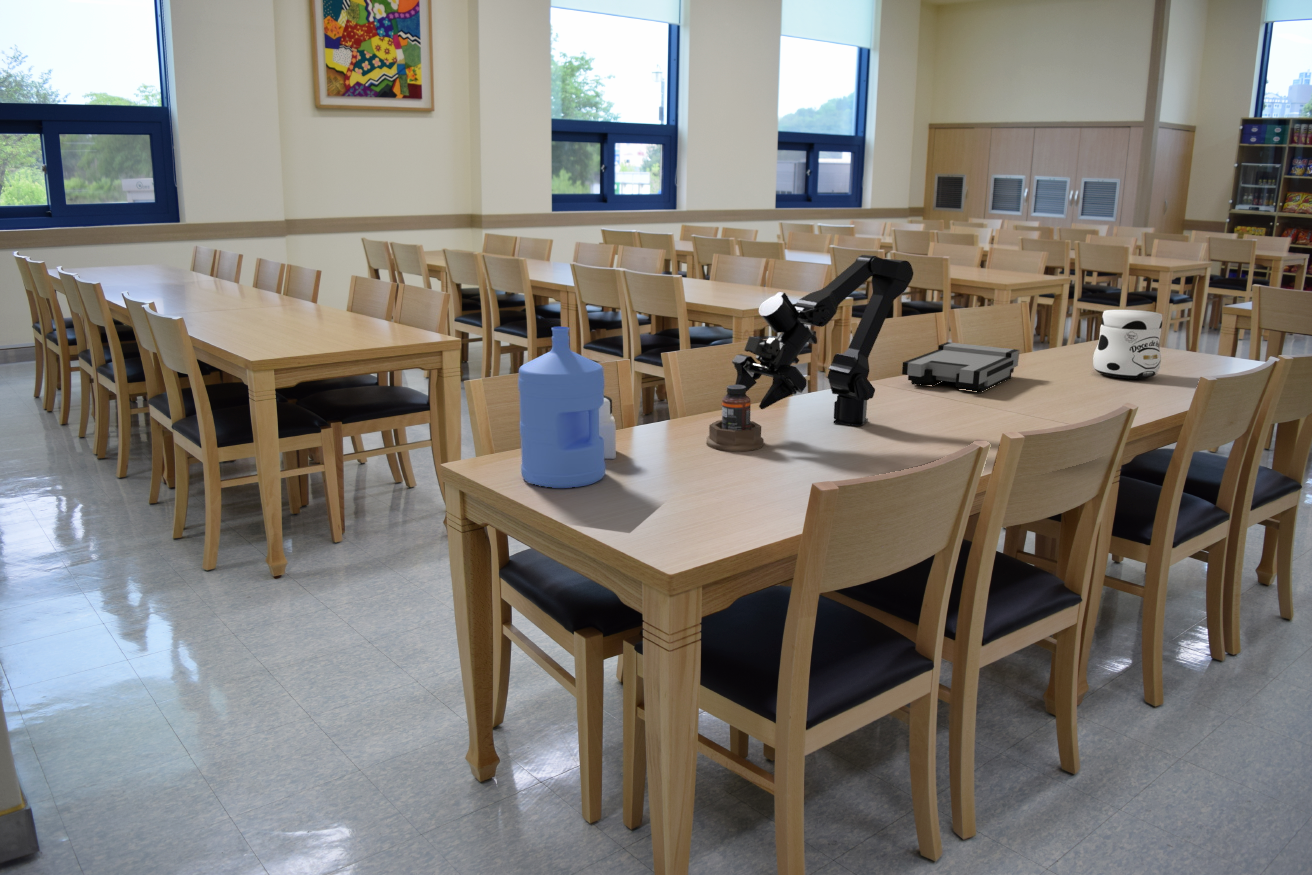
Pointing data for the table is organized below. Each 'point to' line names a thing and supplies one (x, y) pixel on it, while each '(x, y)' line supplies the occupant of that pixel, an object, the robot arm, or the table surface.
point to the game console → (963, 366)
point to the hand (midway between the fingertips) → (746, 403)
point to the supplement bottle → (736, 408)
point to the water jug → (561, 417)
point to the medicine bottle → (607, 428)
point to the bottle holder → (734, 438)
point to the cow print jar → (1129, 344)
